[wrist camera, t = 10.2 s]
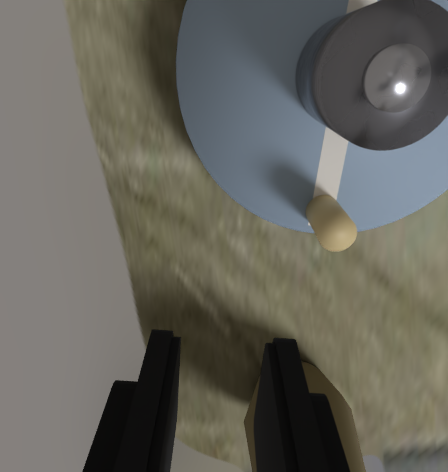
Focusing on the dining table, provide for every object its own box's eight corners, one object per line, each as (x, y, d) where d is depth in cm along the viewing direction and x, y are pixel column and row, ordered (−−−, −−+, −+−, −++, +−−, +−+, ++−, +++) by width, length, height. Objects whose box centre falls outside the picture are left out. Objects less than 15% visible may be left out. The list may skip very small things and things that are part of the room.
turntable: (186, -154, 18) (173, -226, 14) (566, -113, 19) (676, -169, 14) (173, 213, 25) (162, 247, 21) (448, 235, 26) (496, 272, 21)
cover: (304, 8, 19) (339, -15, 14) (414, 19, 20) (496, 1, 14) (288, 123, 22) (312, 147, 16) (387, 132, 22) (447, 158, 16)
